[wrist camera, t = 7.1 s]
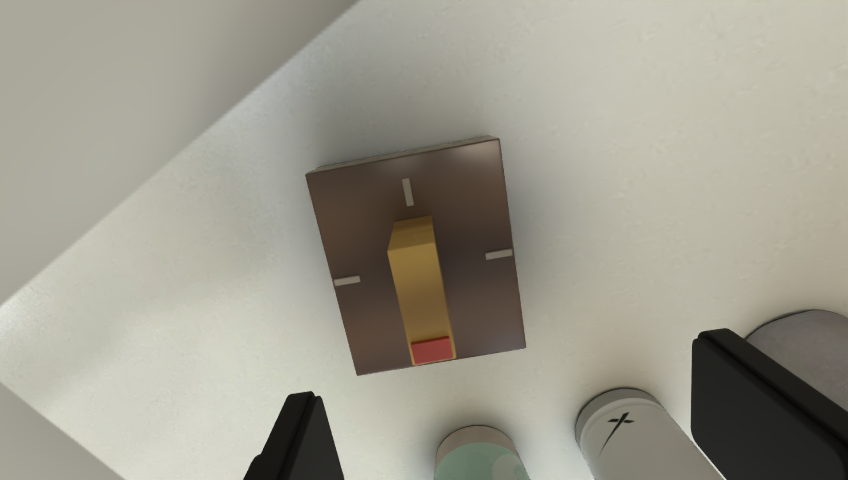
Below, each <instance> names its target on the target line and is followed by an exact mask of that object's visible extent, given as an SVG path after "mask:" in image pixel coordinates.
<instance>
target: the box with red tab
mask: <svg viewBox="0 0 848 480" xmlns="http://www.w3.org/2000/svg"><path fill="white" fill-rule="evenodd" d="M387 253H388V257H389V262H390V266H391V271H392V275H393V280H394V284H395V289H396V293H397V297H398V302H399V306H400V311H401V315H402V320H403V324H404V329H405V333H406V338H407V342H408V347H409V351H410V356H411V360H412V364H413V365H420V364H426V363H432V362H437V361H443V360H449V359H455V358H456V357H457V356H456V350H455V343H454V337H453V330H452V324H451V317H450V311H449V305H448V300H447V295H446V289H445V284H444V279H443V273H442V268H441V263H440V257H439V252H438V247H437V242H436V236H435V231H434V226H433V220H432V216H431V215H430V216H424V217H419V218H414V219H408V220H403V221H398V222H394V226H393V230H392V234H391V238H390V242H389V247H388V251H387Z"/></svg>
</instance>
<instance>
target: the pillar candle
mask: <svg viewBox="0 0 848 480" xmlns="http://www.w3.org/2000/svg"><path fill="white" fill-rule="evenodd" d="M746 341H747V342H749V343H750V344H751V345H753V346H754V347H756V348H757V349H759V350H760V351H761V352H763V353H764V354H766V355H767V356H769V357H770V358H772V359H773V360H774V361H776V362H777V363H779V364H780V365H782V366H783V367H784V368H786V369H787V370H789V371H790V372H792V373H793V374H794V375H796V376H797V377H799V378H800V379H802V380H803V381H805V382H806V383H807V384H809V385H810V386H812V387H813V388H815V389H816V390H817V391H819V392H820V393H822V394H823V395H825V396H826V397H827V398H829V399H830V400H832V401H833V402H835V403H836V404H838V405H839V406H840V407H842V408H843V409H845V410H846V411H848V318H846V317H844V316H842V315H839V314H837V313H833V312H829V311H824V310H812V311H807V312H803V313H799V314H795V315H791V316H788V317H785V318H782V319H779V320H776V321H773V322H771V323H769V324H766V325H764V326H763V327H761V328H760V329H758V330H756V331H755V332H754V333H753V334H752V335H750V336H749V337H748V338H747V339H746Z"/></svg>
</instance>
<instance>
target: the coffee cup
mask: <svg viewBox="0 0 848 480" xmlns="http://www.w3.org/2000/svg"><path fill="white" fill-rule="evenodd" d="M434 480H530V479H529V476H528V474H527V472H526V470H525V467H524V465H523V463H522V461H521V459H520V457H519V454H518V452H517V450H516V448H515V446H514V444H513V442H512V441H511V440H510V438H509V437H508V436H506V435H505V434H504V433H502V432H501V431H499V430H497V429H494V428H491V427H487V426H470V427H465V428H462V429H459V430H457V431H455V432H453V433H452V434H450V435H449V436H448V437H447V438H446V439H445V440H444V441H443V442H442V443H441V445H440V446H439V448H438V451H437V454H436V461H435V470H434Z"/></svg>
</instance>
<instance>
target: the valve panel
mask: <svg viewBox="0 0 848 480" xmlns="http://www.w3.org/2000/svg"><path fill="white" fill-rule="evenodd" d="M305 177H306V180H307V184H308V188H309V192H310V196H311V200H312V204H313V208H314V211H315V215H316V219H317V223H318V227H319V231H320V235H321V239H322V242H323V246H324V250H325V254H326V258H327V262H328V266H329V270H330V273H331V277H332V281H333V285H334V289H335V293H336V297H337V300H338V304H339V308H340V312H341V316H342V320H343V324H344V328H345V331H346V335H347V339H348V343H349V347H350V351H351V355H352V359H353V362H354V366H355V370H356V374H357V376H360V375H366V374H372V373H378V372H384V371H390V370H396V369H402V368H408V367H414V366H420V365H427V364H433V363H439V362H445V361H451V360H457V359H463V358H469V357H475V356H481V355H487V354H493V353H499V352H506V351H512V350H518V349H524V348H526V342H525V334H524V326H523V318H522V310H521V302H520V295H519V287H518V279H517V271H516V263H515V255H514V248H513V240H512V232H511V224H510V216H509V209H508V201H507V193H506V185H505V177H504V169H503V162H502V154H501V146H500V139H499V138H496V137H492V136H484V137H479V138H473V139H468V140H463V141H457V142H452V143H446V144H441V145H436V146H430V147H425V148H420V149H414V150H409V151H403V152H398V153H393V154H387V155H382V156H376V157H371V158H366V159H360V160H355V161H349V162H344V163H339V164H333V165H328V166H322V167H318V168H316V169H314V170H312V171H310V172H308V173H306V174H305ZM430 215H431V216H432V220H433V226H434V231H435V236H436V242H437V247H438V252H439V257H440V263H441V268H442V273H443V279H444V284H445V289H446V295H447V300H448V305H449V311H450V317H451V324H452V330H453V337H454V343H455V350H456V356H457V357H456V358H455V359H449V360H443V361H437V362H432V363H426V364H420V365H413V364H412V360H411V356H410V351H409V347H408V342H407V338H406V333H405V329H404V324H403V320H402V315H401V311H400V306H399V302H398V297H397V293H396V289H395V284H394V280H393V275H392V271H391V266H390V262H389V257H388V253H387V251H388V247H389V242H390V238H391V234H392V230H393V226H394V222H398V221H403V220H408V219H414V218H419V217H424V216H430Z"/></svg>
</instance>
